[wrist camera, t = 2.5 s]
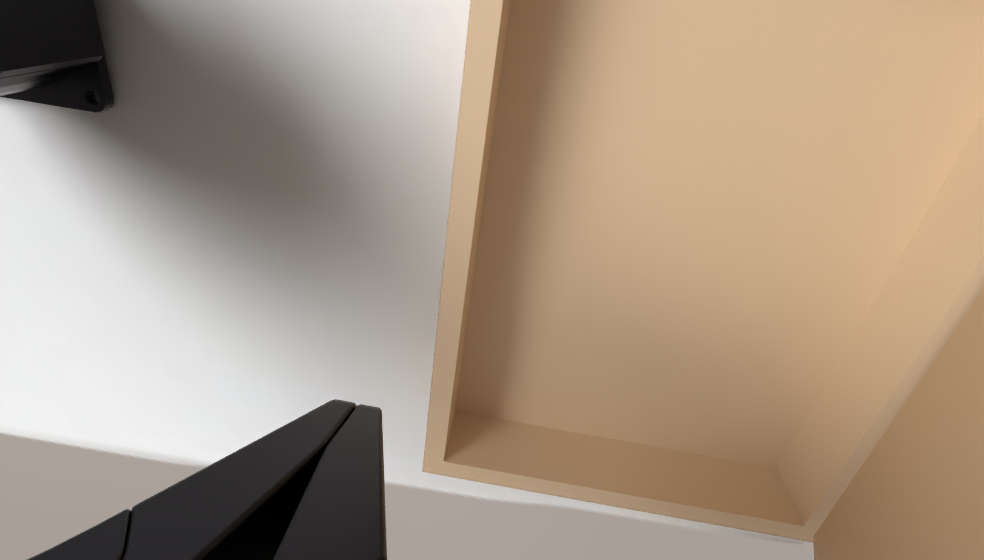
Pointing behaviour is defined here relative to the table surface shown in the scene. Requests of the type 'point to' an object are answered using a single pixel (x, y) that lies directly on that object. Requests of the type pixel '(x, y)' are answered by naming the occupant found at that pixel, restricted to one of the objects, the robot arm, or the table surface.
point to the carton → (703, 246)
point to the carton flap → (922, 468)
